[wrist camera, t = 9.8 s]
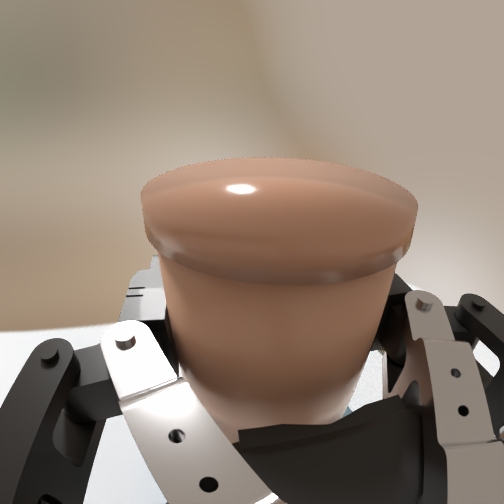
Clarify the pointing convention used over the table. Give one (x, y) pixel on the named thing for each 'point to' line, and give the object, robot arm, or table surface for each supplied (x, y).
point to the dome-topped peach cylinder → (275, 281)
